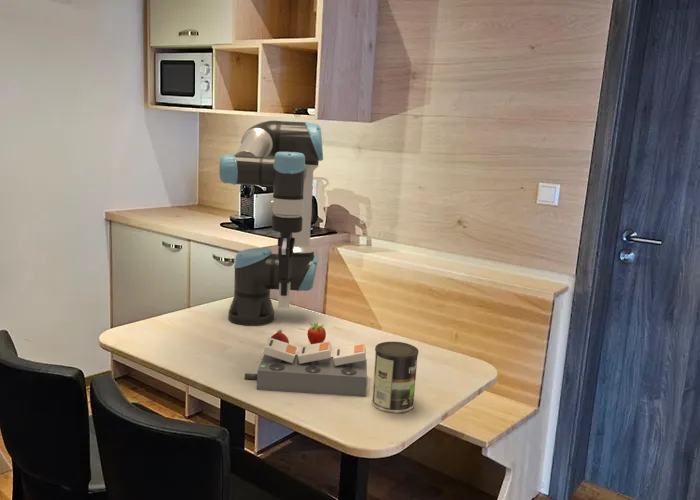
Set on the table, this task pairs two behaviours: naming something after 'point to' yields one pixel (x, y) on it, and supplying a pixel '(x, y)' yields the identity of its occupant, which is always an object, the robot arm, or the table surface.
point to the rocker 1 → (280, 350)
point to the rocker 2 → (314, 352)
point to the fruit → (316, 334)
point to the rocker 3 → (349, 354)
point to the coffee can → (394, 376)
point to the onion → (280, 336)
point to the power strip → (311, 376)
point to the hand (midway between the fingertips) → (283, 306)
